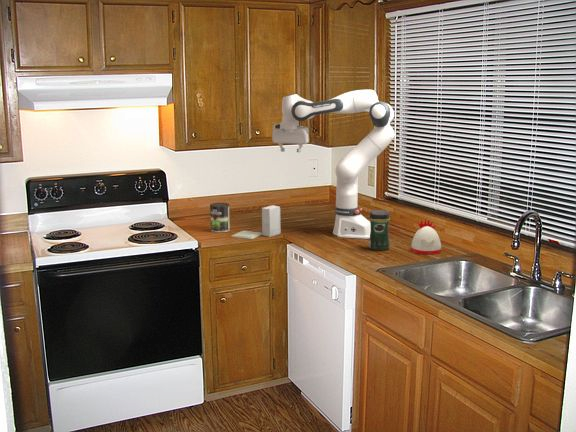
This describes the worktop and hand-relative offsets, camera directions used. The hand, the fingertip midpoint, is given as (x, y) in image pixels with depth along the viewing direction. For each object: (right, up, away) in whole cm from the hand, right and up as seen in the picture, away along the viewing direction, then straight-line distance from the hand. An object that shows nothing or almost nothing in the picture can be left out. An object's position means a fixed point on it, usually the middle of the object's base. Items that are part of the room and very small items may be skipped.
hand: (290, 151), depth 344 cm
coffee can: (-38, -42, +5) cm, 56 cm away
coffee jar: (+42, -50, -35) cm, 73 cm away
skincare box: (-10, -44, -6) cm, 45 cm away
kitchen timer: (+63, -50, -39) cm, 90 cm away
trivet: (-22, -44, -7) cm, 50 cm away
